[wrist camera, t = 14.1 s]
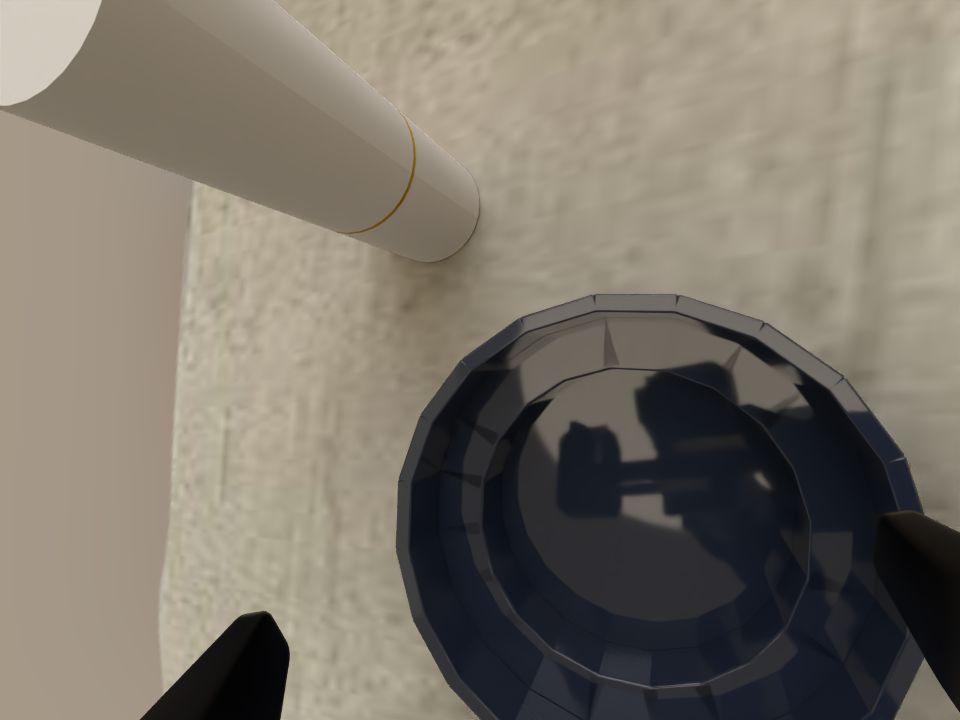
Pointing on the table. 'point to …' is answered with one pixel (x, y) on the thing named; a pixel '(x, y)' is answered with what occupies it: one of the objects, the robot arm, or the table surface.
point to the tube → (237, 113)
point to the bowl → (654, 523)
